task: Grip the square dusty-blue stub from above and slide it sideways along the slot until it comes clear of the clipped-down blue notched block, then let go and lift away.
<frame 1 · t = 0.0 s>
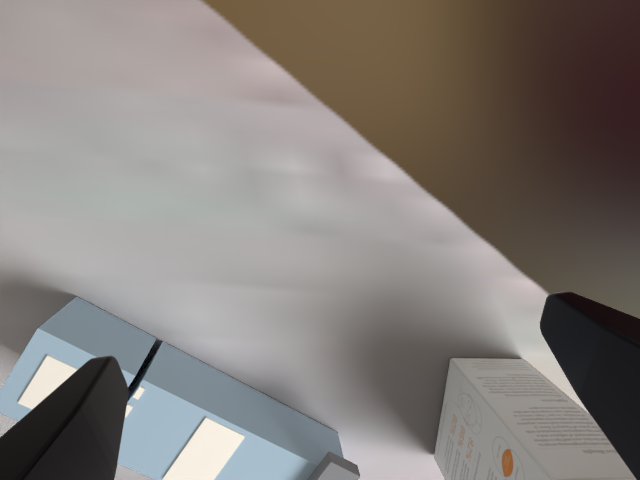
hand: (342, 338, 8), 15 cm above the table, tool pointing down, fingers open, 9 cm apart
blue notched block: (234, 419, 26), on the table
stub: (80, 370, 22), point 2 cm above the table, slide at 0.0 cm
small box: (475, 405, 28), on the table
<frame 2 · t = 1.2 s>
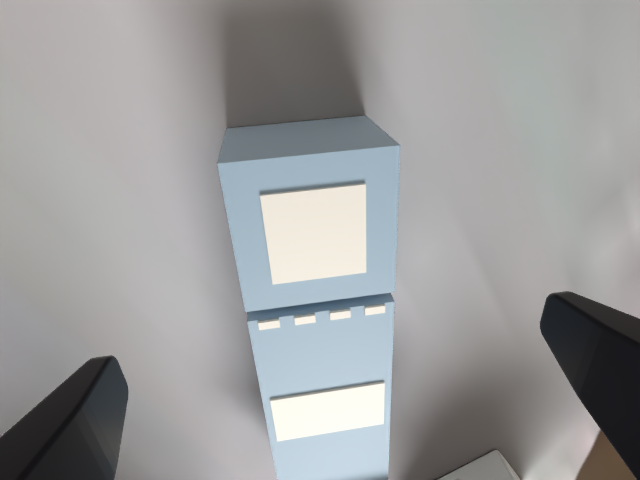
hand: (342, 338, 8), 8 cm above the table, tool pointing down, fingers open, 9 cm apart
blue notched block: (318, 363, 20), on the table
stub: (309, 209, 14), point 2 cm above the table, slide at 0.0 cm
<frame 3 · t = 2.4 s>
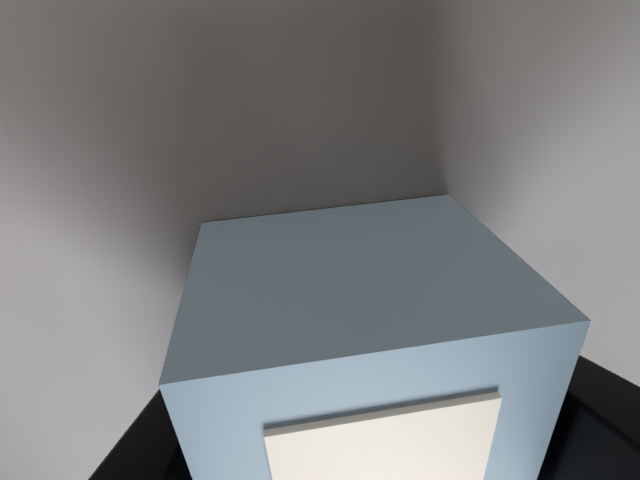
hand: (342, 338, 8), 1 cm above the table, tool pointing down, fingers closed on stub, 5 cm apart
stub: (353, 376, 7), point 2 cm above the table, slide at 0.0 cm, touching gripper
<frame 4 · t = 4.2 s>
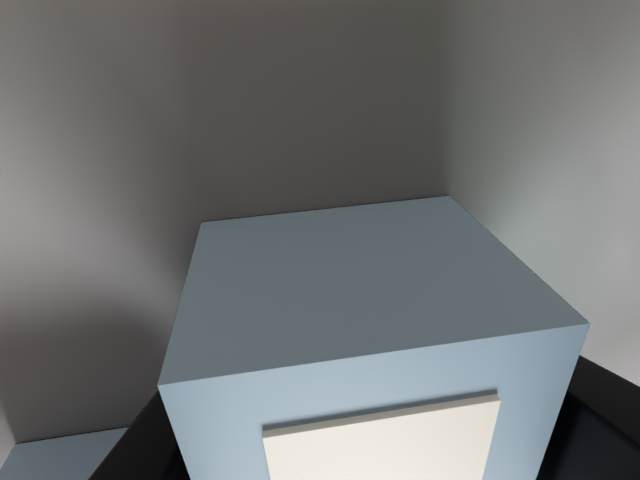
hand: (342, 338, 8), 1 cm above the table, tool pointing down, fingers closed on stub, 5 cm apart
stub: (352, 377, 7), point 2 cm above the table, slide at 5.5 cm, touching gripper
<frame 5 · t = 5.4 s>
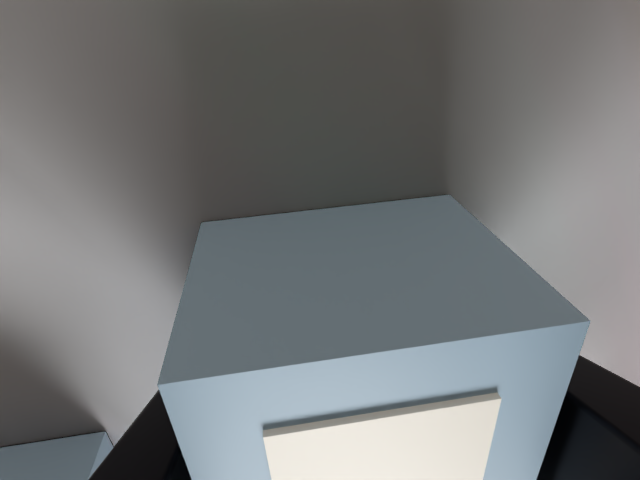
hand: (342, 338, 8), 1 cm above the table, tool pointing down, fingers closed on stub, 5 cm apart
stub: (353, 376, 7), point 2 cm above the table, slide at 8.4 cm, touching gripper
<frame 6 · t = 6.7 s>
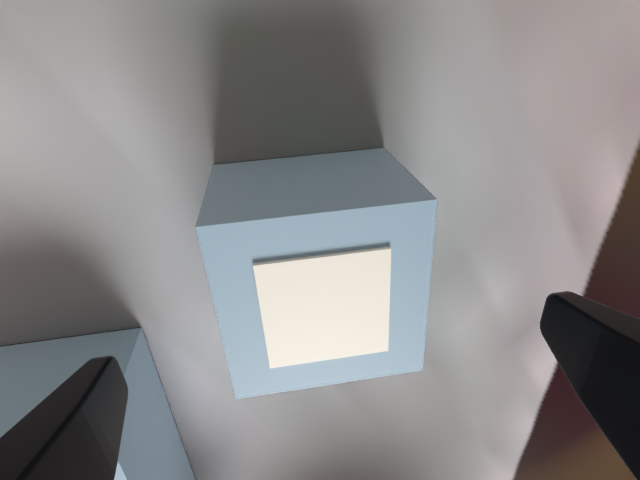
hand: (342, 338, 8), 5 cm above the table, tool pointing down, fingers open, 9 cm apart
blue notched block: (122, 457, 17), on the table
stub: (315, 265, 11), point 2 cm above the table, slide at 8.4 cm
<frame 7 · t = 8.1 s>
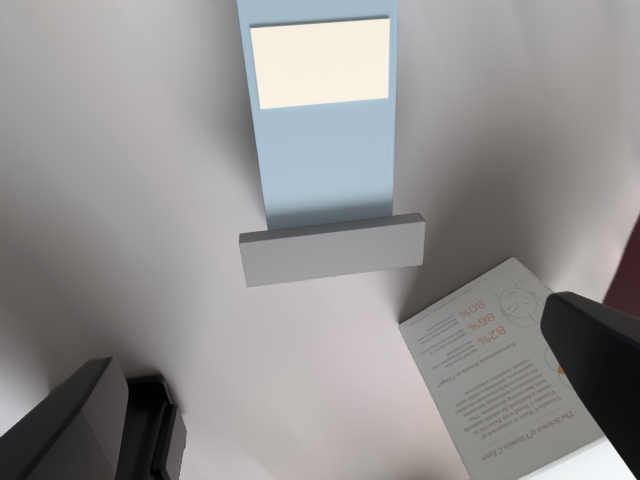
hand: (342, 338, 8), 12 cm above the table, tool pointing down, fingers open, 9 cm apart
blue notched block: (311, 93, 17), on the table
small box: (468, 315, 25), on the table
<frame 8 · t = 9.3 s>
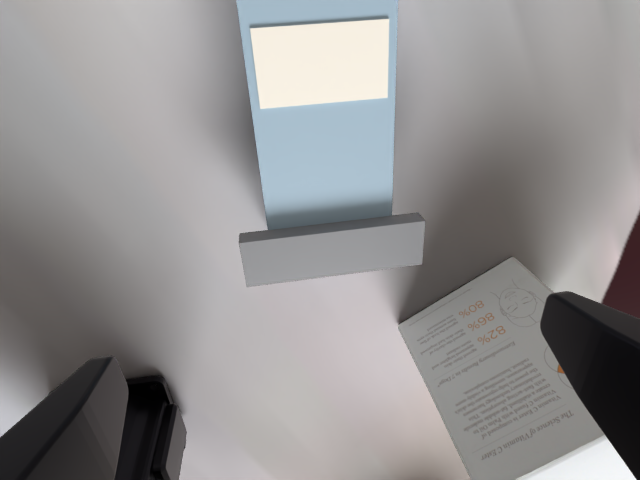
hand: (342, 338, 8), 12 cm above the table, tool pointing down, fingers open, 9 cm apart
blue notched block: (311, 93, 17), on the table
small box: (468, 315, 25), on the table
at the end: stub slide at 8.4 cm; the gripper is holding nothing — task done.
